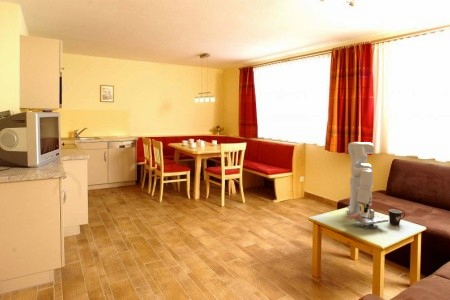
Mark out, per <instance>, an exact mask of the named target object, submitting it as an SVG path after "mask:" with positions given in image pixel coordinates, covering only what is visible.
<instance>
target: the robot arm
mask: <svg viewBox="0 0 450 300" xmlns="http://www.w3.org/2000/svg"><path fill="white" fill-rule="evenodd" d="M347 151H348V154H349V157H350V174H351V177H349V178H350V179H349V186H350V195H349V205H348V206H347V207H346V209H347V215H350V214H354V213H356V214H357V213H361V206H359V203H364V204H365V207H364V213H368V210H369V208H370V207H371V206H373V202H372V201H373V193H372V188H373V186H374V173H373V166H372V165H371V164H370V163H366V162H367V161H368V154H371V155H372V154H373V153H374V152H375V145H374V144H373V143H372V142H367V141H366V142H365V141H364V142H360V141H354V142H353V141H352V142H349V143H348V145H347Z"/></svg>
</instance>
